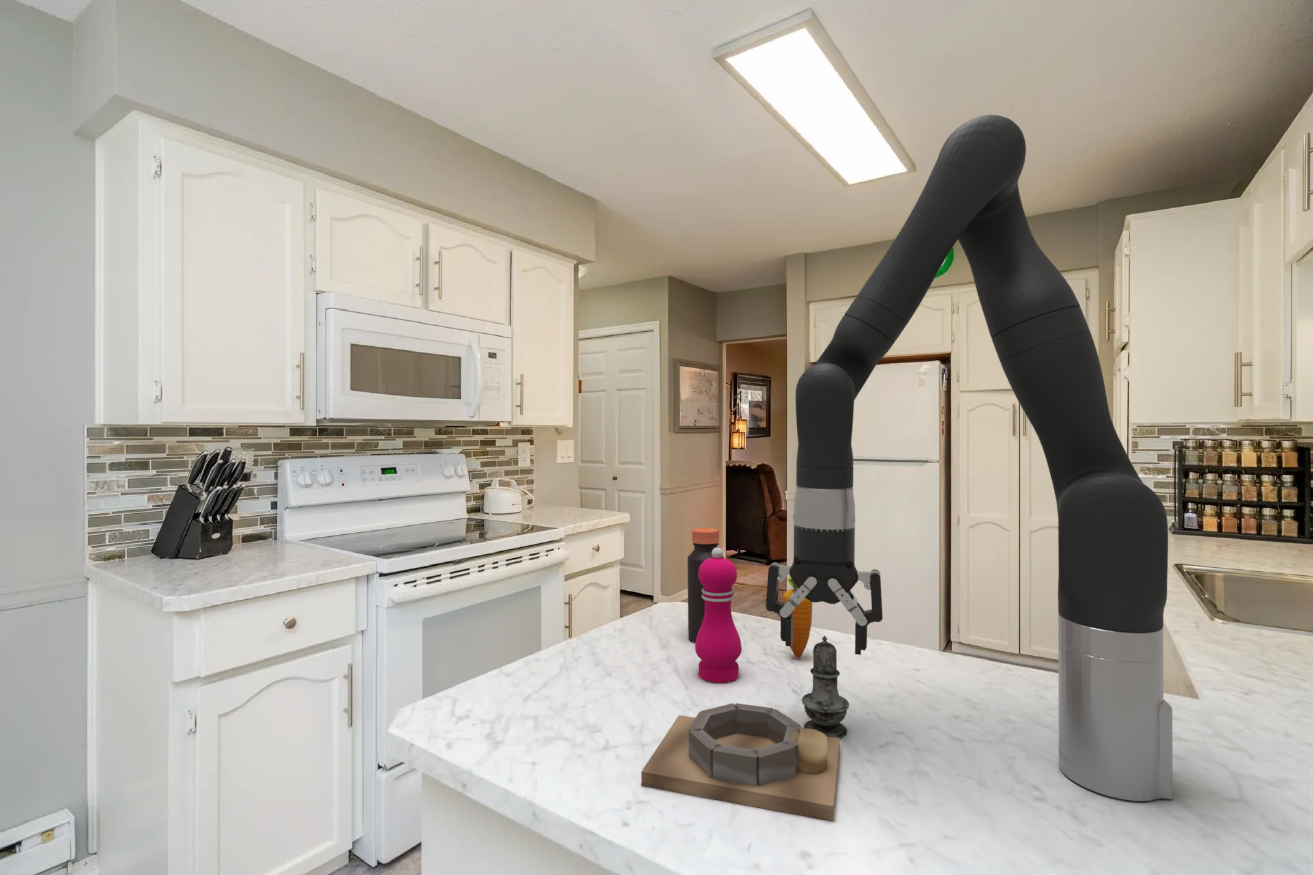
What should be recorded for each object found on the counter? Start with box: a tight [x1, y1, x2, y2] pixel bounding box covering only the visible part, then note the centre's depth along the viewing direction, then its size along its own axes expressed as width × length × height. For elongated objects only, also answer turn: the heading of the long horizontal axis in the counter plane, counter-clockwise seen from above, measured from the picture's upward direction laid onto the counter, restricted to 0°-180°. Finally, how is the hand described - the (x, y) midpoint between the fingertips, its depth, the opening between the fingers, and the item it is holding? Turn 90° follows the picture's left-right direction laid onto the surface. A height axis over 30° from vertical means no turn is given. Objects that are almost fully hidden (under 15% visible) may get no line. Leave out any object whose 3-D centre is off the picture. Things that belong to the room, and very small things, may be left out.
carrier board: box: [640, 702, 841, 822], centre depth 70 cm, size 20×14×4 cm
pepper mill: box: [694, 547, 743, 684], centre depth 97 cm, size 7×7×20 cm
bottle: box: [687, 527, 725, 643], centre depth 114 cm, size 7×7×20 cm
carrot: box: [782, 576, 813, 660], centre depth 104 cm, size 5×5×15 cm
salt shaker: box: [801, 635, 850, 739], centre depth 79 cm, size 6×6×12 cm
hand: (822, 648), depth 79 cm, fingers open, 8 cm apart
